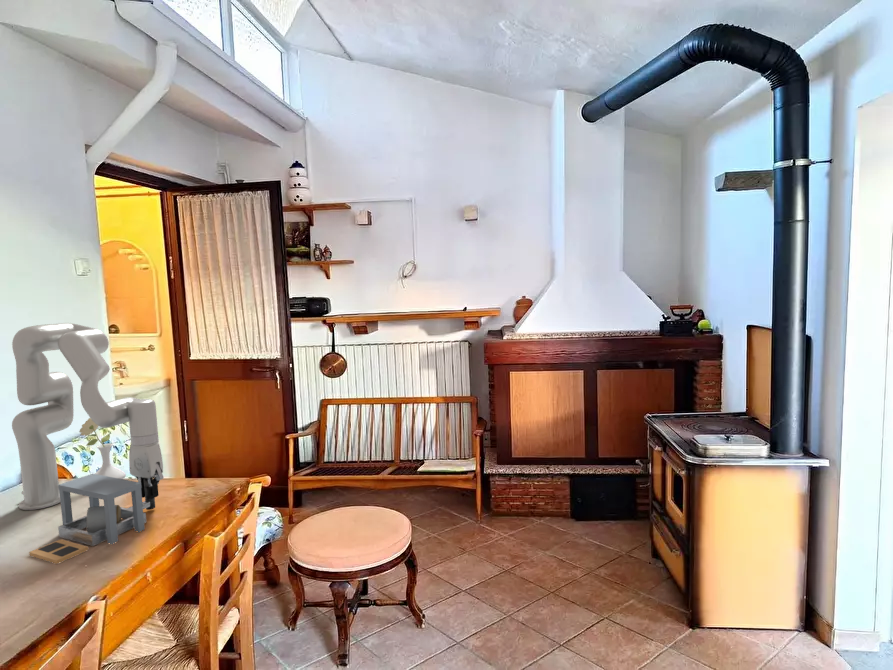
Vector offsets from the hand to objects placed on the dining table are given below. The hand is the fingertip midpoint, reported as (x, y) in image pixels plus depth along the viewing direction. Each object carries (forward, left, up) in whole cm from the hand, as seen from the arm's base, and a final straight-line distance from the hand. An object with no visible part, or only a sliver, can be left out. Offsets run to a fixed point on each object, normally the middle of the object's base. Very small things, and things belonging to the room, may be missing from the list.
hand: (149, 496), depth 175 cm
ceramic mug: (-1, -14, -5) cm, 15 cm away
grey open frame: (0, -11, -4) cm, 12 cm away
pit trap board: (+2, -28, -5) cm, 29 cm away
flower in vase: (-39, +11, -5) cm, 41 cm away
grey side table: (0, -15, -5) cm, 16 cm away
